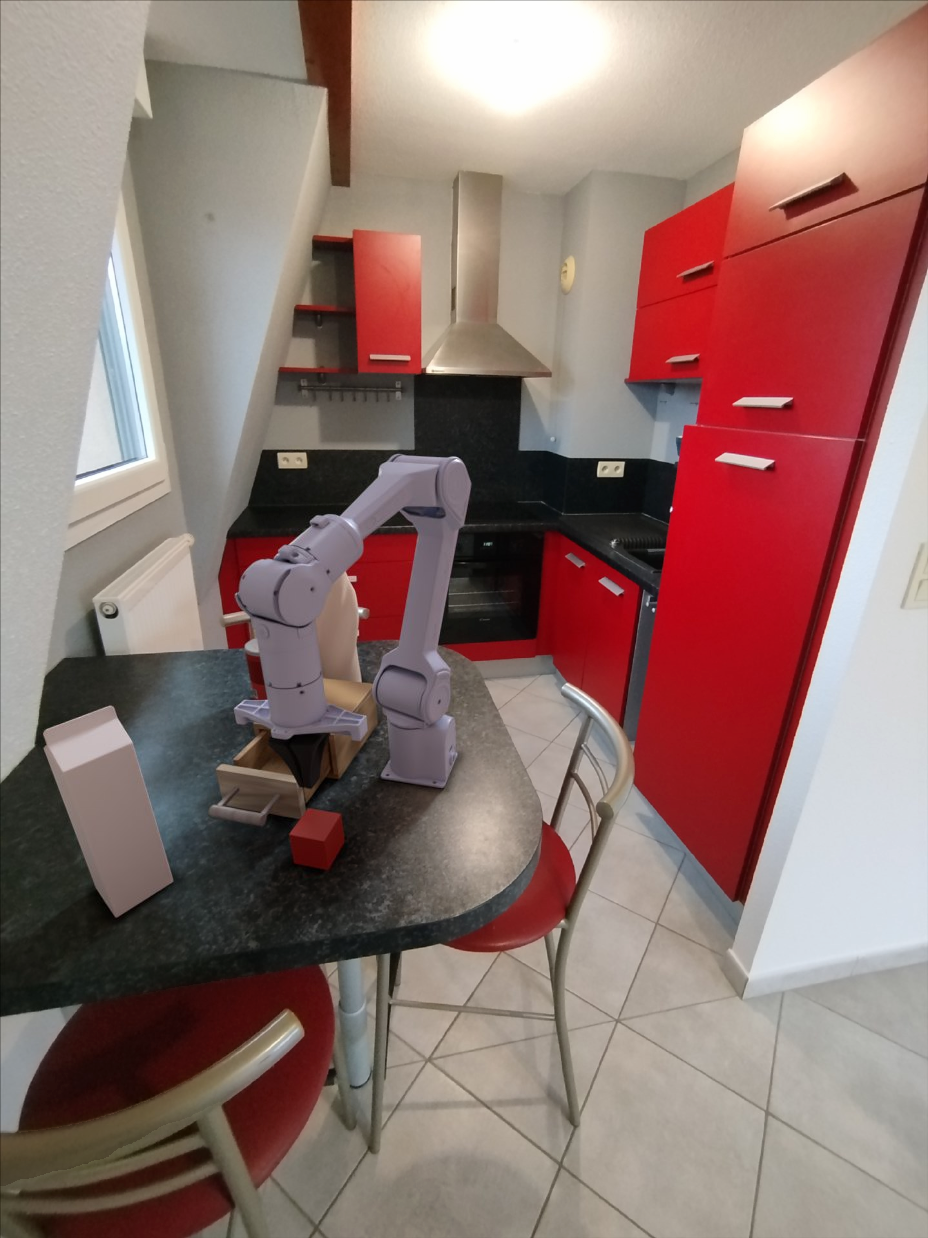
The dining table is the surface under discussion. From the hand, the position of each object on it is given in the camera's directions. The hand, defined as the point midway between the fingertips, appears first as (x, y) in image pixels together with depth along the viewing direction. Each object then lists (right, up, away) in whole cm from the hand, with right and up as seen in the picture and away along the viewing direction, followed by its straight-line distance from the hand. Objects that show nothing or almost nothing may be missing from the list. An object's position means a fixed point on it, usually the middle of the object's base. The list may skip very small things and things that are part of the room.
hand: (309, 782), depth 60 cm
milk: (-20, -12, 0) cm, 23 cm away
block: (0, -10, +4) cm, 10 cm away
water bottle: (-6, +6, +42) cm, 43 cm away
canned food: (-17, +4, +37) cm, 41 cm away
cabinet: (-5, -1, +24) cm, 25 cm away
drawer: (-8, -5, +13) cm, 16 cm away
